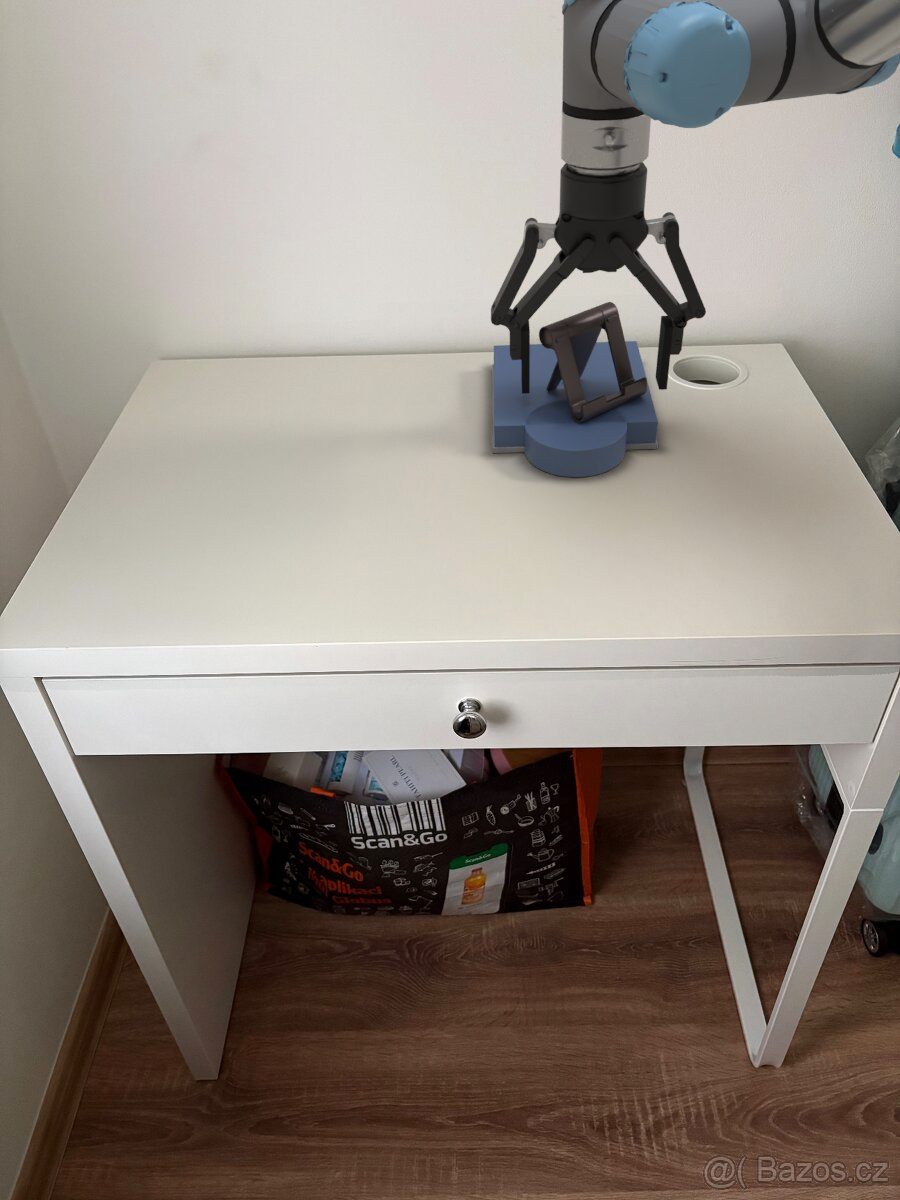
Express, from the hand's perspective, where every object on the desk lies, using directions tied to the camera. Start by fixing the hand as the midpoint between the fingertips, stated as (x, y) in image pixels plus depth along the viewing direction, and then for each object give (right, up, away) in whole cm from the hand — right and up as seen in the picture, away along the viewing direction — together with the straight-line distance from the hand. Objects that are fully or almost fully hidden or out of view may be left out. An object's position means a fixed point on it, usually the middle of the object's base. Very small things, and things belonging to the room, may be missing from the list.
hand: (592, 385), depth 97 cm
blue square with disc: (-2, -2, +4) cm, 5 cm away
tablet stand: (0, -1, +1) cm, 2 cm away
